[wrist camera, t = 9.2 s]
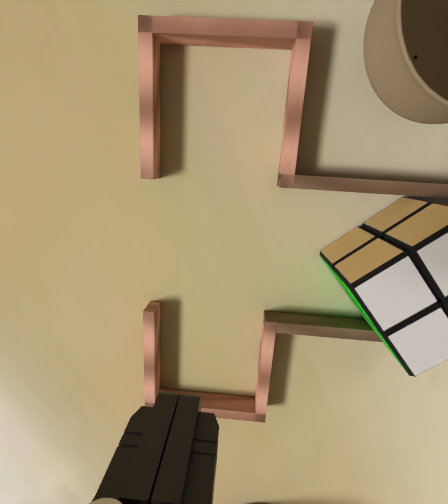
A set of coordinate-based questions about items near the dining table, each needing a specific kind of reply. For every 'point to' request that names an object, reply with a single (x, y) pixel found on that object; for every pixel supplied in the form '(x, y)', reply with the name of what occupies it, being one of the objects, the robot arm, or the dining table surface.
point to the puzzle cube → (400, 279)
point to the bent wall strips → (298, 41)
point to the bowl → (409, 57)
